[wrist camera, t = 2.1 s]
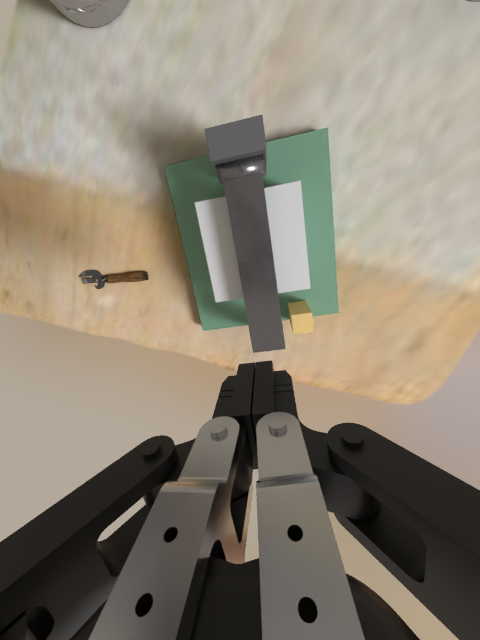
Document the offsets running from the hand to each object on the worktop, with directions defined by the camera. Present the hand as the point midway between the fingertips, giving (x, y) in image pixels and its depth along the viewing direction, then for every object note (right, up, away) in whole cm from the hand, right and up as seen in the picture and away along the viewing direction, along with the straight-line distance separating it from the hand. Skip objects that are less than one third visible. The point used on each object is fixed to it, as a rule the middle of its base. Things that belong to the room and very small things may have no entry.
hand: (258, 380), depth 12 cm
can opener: (-16, +8, +21) cm, 28 cm away
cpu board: (+1, +11, +17) cm, 21 cm away
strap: (+1, +9, +15) cm, 18 cm away
